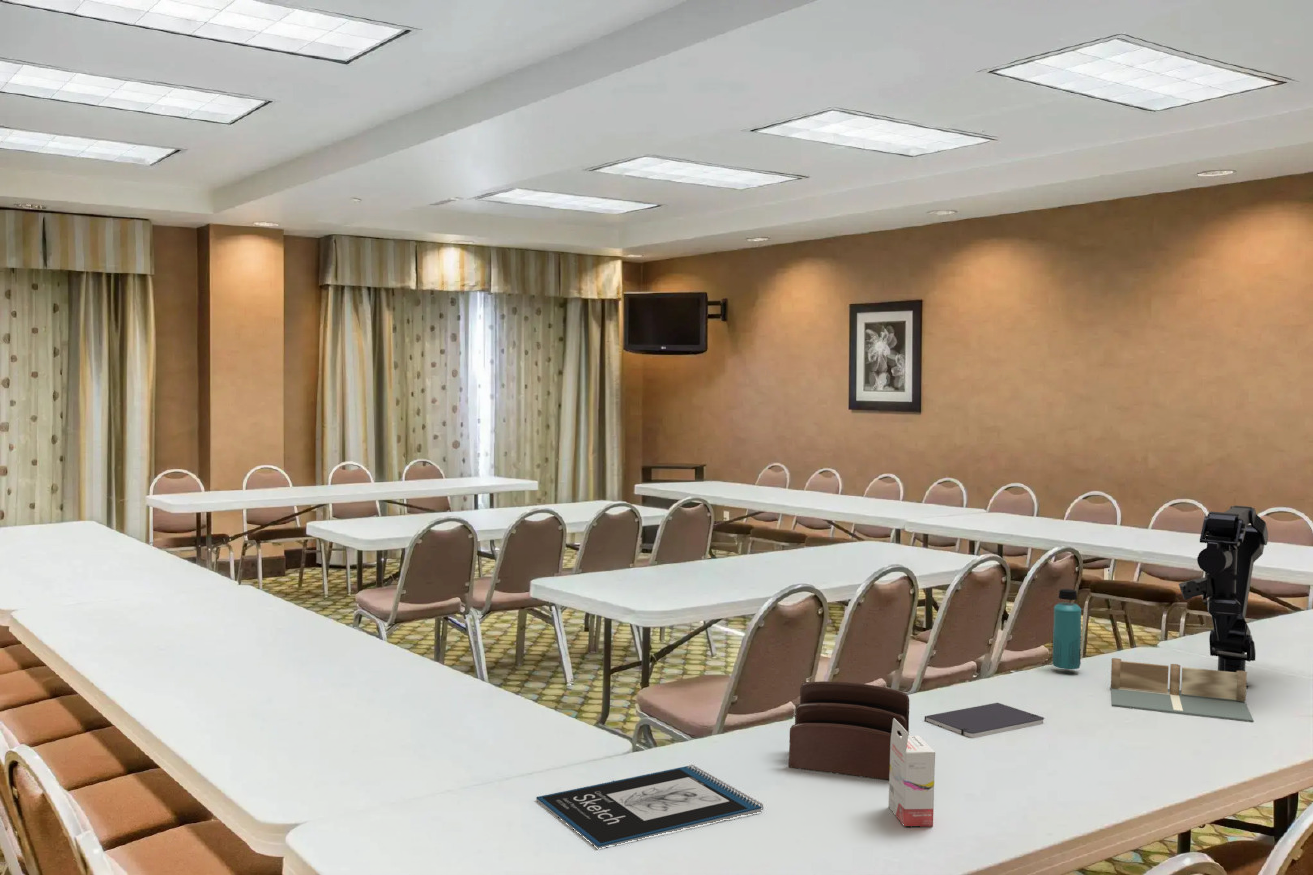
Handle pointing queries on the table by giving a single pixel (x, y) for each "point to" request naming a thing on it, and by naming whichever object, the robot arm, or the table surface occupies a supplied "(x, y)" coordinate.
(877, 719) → the letter holder
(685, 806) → the sketchbook
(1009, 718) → the notebook
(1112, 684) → the fixed fence
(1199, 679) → the hinged panel
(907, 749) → the ink cartridge box
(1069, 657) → the beverage bottle
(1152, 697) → the board
